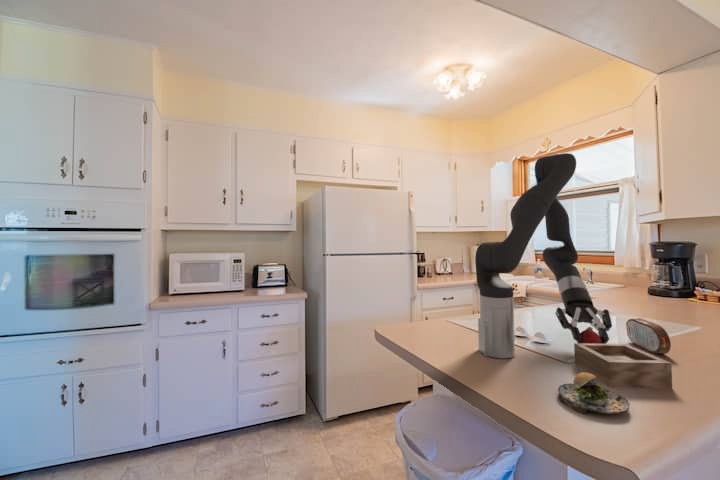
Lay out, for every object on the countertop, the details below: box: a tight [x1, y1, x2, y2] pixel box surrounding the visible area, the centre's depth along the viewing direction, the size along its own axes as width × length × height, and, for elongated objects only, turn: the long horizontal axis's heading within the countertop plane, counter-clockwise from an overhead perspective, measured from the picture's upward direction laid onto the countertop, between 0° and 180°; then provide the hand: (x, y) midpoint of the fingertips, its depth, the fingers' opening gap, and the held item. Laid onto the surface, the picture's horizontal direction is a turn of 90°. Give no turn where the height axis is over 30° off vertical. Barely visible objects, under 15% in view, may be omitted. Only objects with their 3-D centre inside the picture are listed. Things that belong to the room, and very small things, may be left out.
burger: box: [557, 365, 630, 415], centre depth 62 cm, size 12×12×8 cm
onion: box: [577, 326, 602, 344], centre depth 89 cm, size 6×6×8 cm
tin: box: [625, 317, 672, 355], centre depth 93 cm, size 15×3×8 cm, turn 168°
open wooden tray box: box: [573, 342, 673, 390], centre depth 75 cm, size 13×13×6 cm
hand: (592, 341), depth 87 cm, fingers closed on onion, 5 cm apart
